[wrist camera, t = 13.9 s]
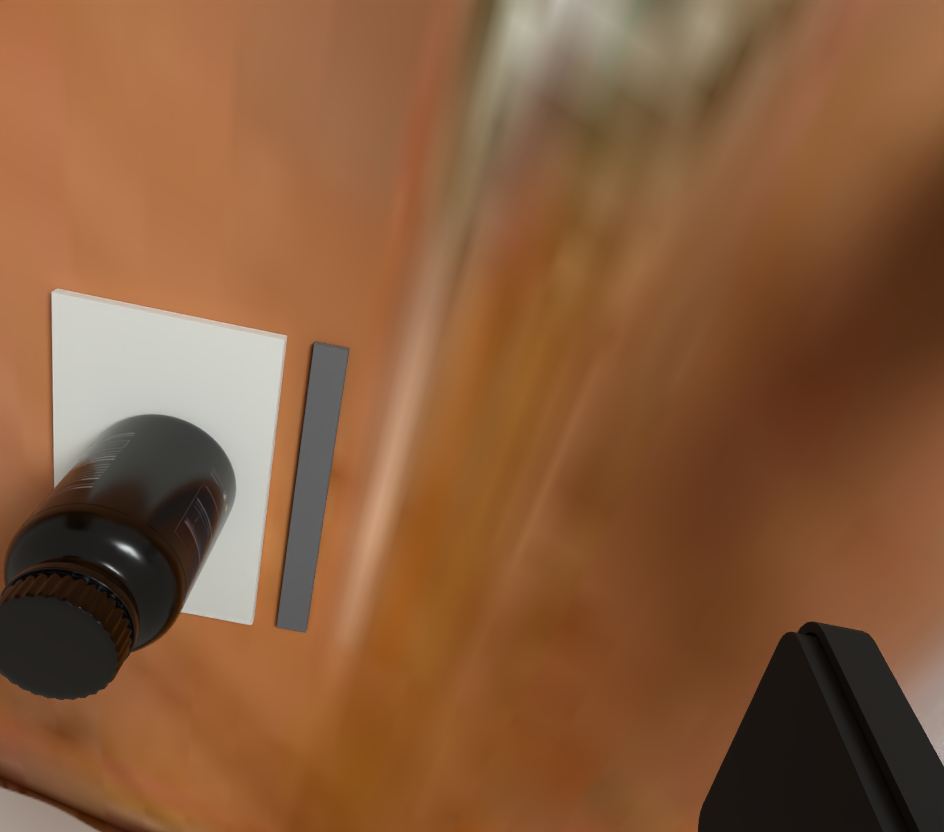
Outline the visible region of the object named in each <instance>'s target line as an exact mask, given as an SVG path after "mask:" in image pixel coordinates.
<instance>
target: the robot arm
mask: <svg viewBox="0 0 944 832" xmlns="http://www.w3.org/2000/svg"><path fill="white" fill-rule="evenodd" d="M698 832H944V766H943V764H942V762H941V761H940V759H939V757H938V755H937V753H936V752H935V750H934V748H933V746H932V744H931V742H930V741H929V739H928V737H927V735H926V733H925V732H924V730H923V728H922V726H921V724H920V723H919V721H918V719H917V717H916V715H915V714H914V712H913V710H912V708H911V706H910V704H909V703H908V701H907V699H906V697H905V695H904V694H903V692H902V690H901V688H900V686H899V685H898V683H897V681H896V679H895V677H894V676H893V674H892V672H891V670H890V668H889V666H888V665H887V663H886V661H885V659H884V657H883V656H882V654H881V652H880V650H879V648H878V647H877V645H876V643H875V641H874V640H873V639H872V637H871V636H870V635H869V634H867V633H865V632H863V631H859V630H854V629H849V628H844V627H838V626H833V625H828V624H823V623H818V622H807V623H806V624H804V625H803V626H802V627H801V628H800V629H799V631H798V633H795V632H787V633H786V634H785V635H783V636H782V638H781V640H780V641H779V643H778V645H777V647H776V650H775V652H774V654H773V656H772V658H771V660H770V662H769V664H768V667H767V669H766V671H765V673H764V675H763V677H762V679H761V682H760V684H759V686H758V688H757V690H756V692H755V694H754V696H753V699H752V701H751V703H750V705H749V707H748V709H747V711H746V714H745V716H744V718H743V720H742V722H741V724H740V726H739V729H738V731H737V733H736V735H735V737H734V739H733V741H732V743H731V746H730V748H729V750H728V752H727V754H726V756H725V758H724V761H723V763H722V765H721V767H720V769H719V771H718V773H717V776H716V778H715V780H714V782H713V784H712V786H711V788H710V790H709V793H708V795H707V797H706V799H705V801H704V803H703V806H702V809H701V811H700V816H699V824H698Z"/></svg>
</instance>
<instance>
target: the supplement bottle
mask: <svg viewBox="0 0 944 832" xmlns="http://www.w3.org/2000/svg"><path fill="white" fill-rule="evenodd" d="M235 496H236V479H235V474H234V470H233V467H232V464H231V462H230V460H229V458H228V456H227V455H226V453H225V452H224V450H223V449H222V447H221V446H220V445H219V444H218V443H217V442H216V441H215V440H214V439H213V438H212V437H211V436H210V435H209V434H208V433H206V432H205V431H204V430H202V429H201V428H199V427H197V426H196V425H194V424H192V423H190V422H187V421H185V420H182V419H180V418H176V417H173V416H167V415H160V414H144V415H137V416H133V417H129V418H127V419H124V420H121V421H119V422H118V423H116V424H114V425H113V426H111V427H110V428H109V429H107V430H106V431H105V432H104V433H103V434H102V435H101V436H100V437H99V438H98V439H97V440H96V441H95V442H94V443H93V444H92V446H91V447H90V448H89V449H88V450H87V451H86V452H85V454H84V455H83V456H82V457H81V458H80V459H79V460H78V462H77V463H76V464H75V465H74V466H73V467H72V468H71V470H70V471H69V472H68V473H67V474H66V475H65V477H64V478H63V479H62V480H61V481H60V482H59V483H58V485H57V486H56V487H55V488H54V489H53V490H52V492H51V493H50V494H49V495H48V496H47V497H46V498H45V500H44V501H43V502H42V503H41V504H40V505H39V506H38V508H37V509H36V510H35V511H34V512H33V513H32V515H31V516H30V517H29V518H28V519H27V520H26V521H25V523H24V524H23V525H22V526H21V528H20V529H19V530H18V532H17V533H16V534H15V536H14V537H13V539H12V540H11V542H10V544H9V547H8V549H7V552H6V556H5V560H4V582H5V589H4V590H3V592H2V594H1V596H0V674H1V675H3V676H5V677H7V678H8V679H9V681H10V682H11V683H14V684H16V685H18V686H19V687H20V688H22V689H23V690H27V691H30V692H31V693H33V694H35V695H42V696H44V697H46V698H56V699H59V700H63V699H72V700H74V699H76V698H86V697H87V696H88V695H93V694H96V693H97V692H98V691H99V690H102V689H105V688H106V686H107V685H108V683H110V682H112V681H113V679H114V678H115V676H116V675H117V673H118V671H119V669H120V668H121V666H122V664H123V662H124V661H125V660H126V659H127V657H128V656H129V655H130V653H132V652H135V651H138V650H140V649H142V648H145V647H147V646H148V645H150V644H152V643H154V642H155V641H157V640H158V639H159V638H161V637H162V636H163V635H164V634H165V633H166V632H167V631H168V630H169V629H170V628H171V627H172V625H173V624H174V622H175V621H176V619H177V618H178V616H179V614H180V612H181V610H182V608H183V606H184V604H185V603H186V601H187V599H188V597H189V595H190V593H191V591H192V589H193V587H194V585H195V583H196V581H197V579H198V577H199V575H200V573H201V571H202V569H203V567H204V565H205V563H206V561H207V559H208V557H209V555H210V553H211V551H212V549H213V547H214V545H215V543H216V541H217V539H218V537H219V535H220V533H221V531H222V529H223V527H224V525H225V523H226V521H227V518H228V516H229V514H230V512H231V510H232V507H233V504H234V501H235Z"/></svg>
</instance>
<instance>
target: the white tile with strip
mask: <svg viewBox="0 0 944 832" xmlns="http://www.w3.org/2000/svg"><path fill="white" fill-rule="evenodd" d="M286 342H287V335H282V334H277V333H272V332H267V331H262V330H257V329H252V328H248V327H243V326H238V325H233V324H228V323H223V322H218V321H213V320H209V319H204V318H199V317H194V316H189V315H184V314H179V313H174V312H170V311H165V310H160V309H155V308H150V307H145V306H140V305H135V304H131V303H126V302H121V301H116V300H111V299H106V298H101V297H96V296H91V295H87V294H82V293H77V292H72V291H67V290H62V289H55V290H54V291H52V363H53V438H54V488H55V487H56V486H57V485H58V483H59V482H60V481H61V480H62V479H63V478H64V477H65V475H66V474H67V473H68V472H69V471H70V470H71V468H72V467H73V466H74V465H75V464H76V463H77V462H78V460H79V459H80V458H81V457H82V456H83V455H84V454H85V452H86V451H87V450H88V449H89V448H90V447H91V446H92V444H93V443H94V442H95V441H96V440H97V439H98V438H99V437H100V436H101V435H102V434H103V433H104V432H105V431H106V430H107V429H109V428H110V427H111V426H113V425H114V424H116V423H118V422H119V421H121V420H124V419H127V418H129V417H133V416H137V415H144V414H160V415H167V416H173V417H176V418H180V419H182V420H185V421H187V422H190V423H192V424H194V425H196V426H197V427H199V428H201V429H202V430H204V431H205V432H206V433H208V434H209V435H210V436H211V437H212V438H213V439H214V440H215V441H216V442H217V443H218V444H219V445H220V446H221V447H222V449H223V450H224V452H225V453H226V455H227V456H228V458H229V460H230V462H231V464H232V467H233V470H234V474H235V479H236V496H235V501H234V504H233V507H232V510H231V512H230V514H229V516H228V518H227V521H226V523H225V525H224V527H223V529H222V531H221V533H220V535H219V537H218V539H217V541H216V543H215V545H214V547H213V549H212V551H211V553H210V555H209V557H208V559H207V561H206V563H205V565H204V567H203V569H202V571H201V573H200V575H199V577H198V579H197V581H196V583H195V585H194V587H193V589H192V591H191V593H190V595H189V597H188V599H187V601H186V603H185V604H184V606H183V608H182V610H181V612H183V613H188V614H194V615H199V616H204V617H210V618H215V619H220V620H226V621H231V622H237V623H242V624H247V625H252V623H253V621H254V616H255V607H256V599H257V590H258V582H259V573H260V565H261V556H262V548H263V539H264V530H265V522H266V513H267V505H268V496H269V488H270V479H271V470H272V462H273V453H274V445H275V436H276V428H277V419H278V411H279V402H280V393H281V385H282V376H283V368H284V359H285V351H286ZM348 355H349V348H345V347H340V346H335V345H330V344H326V343H321V342H315V343H314V349H313V357H312V364H311V372H310V379H309V387H308V394H307V402H306V410H305V417H304V425H303V432H302V440H301V447H300V455H299V462H298V470H297V478H296V485H295V493H294V500H293V508H292V515H291V523H290V530H289V538H288V546H287V553H286V561H285V568H284V576H283V583H282V591H281V598H280V606H279V614H278V621H277V627H278V628H283V629H289V630H294V631H299V632H305V633H306V630H307V624H308V617H309V611H310V604H311V598H312V591H313V584H314V578H315V571H316V565H317V558H318V552H319V545H320V538H321V532H322V525H323V519H324V512H325V506H326V499H327V492H328V486H329V479H330V473H331V466H332V460H333V453H334V447H335V440H336V433H337V427H338V420H339V414H340V407H341V401H342V394H343V387H344V381H345V374H346V368H347V361H348Z"/></svg>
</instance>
